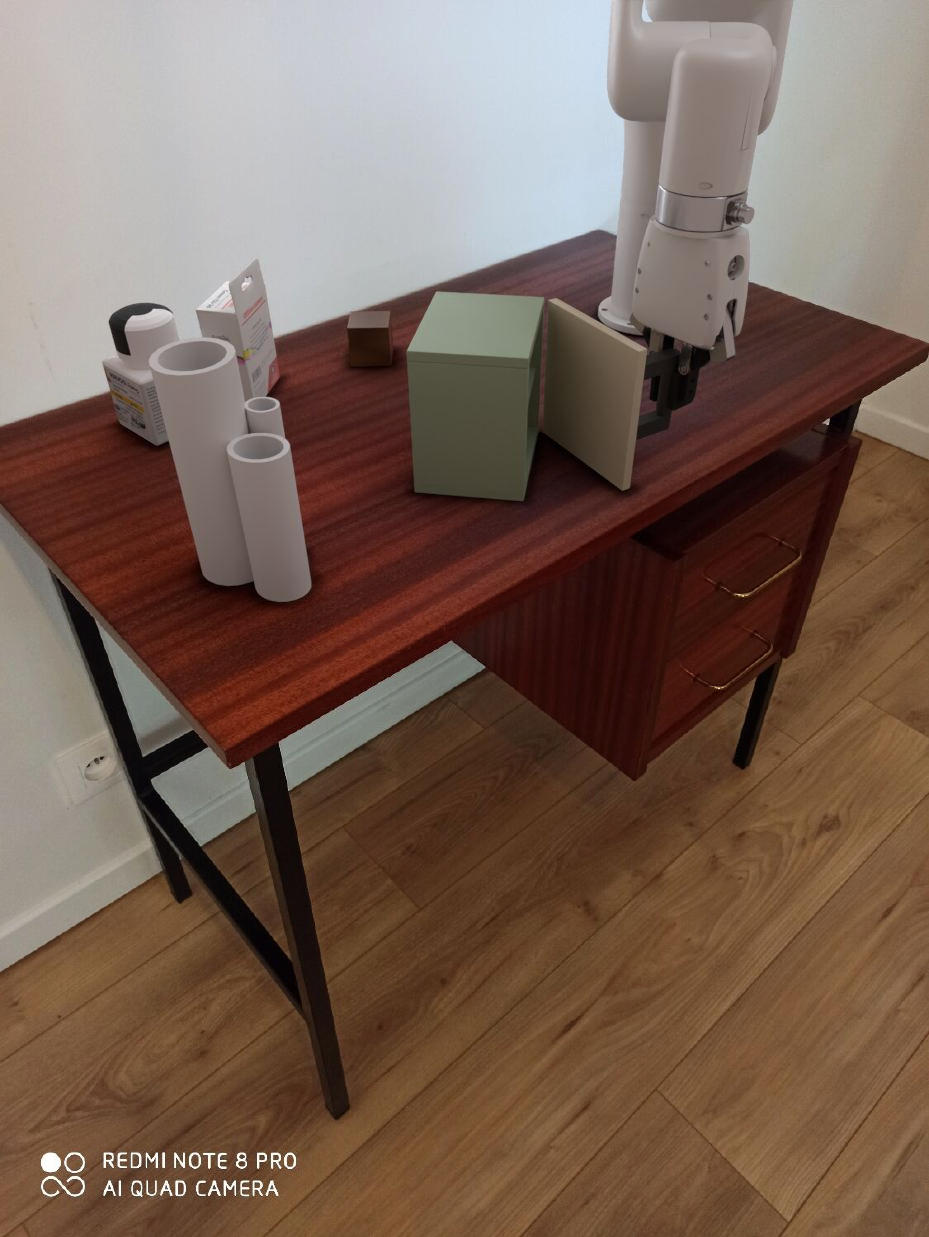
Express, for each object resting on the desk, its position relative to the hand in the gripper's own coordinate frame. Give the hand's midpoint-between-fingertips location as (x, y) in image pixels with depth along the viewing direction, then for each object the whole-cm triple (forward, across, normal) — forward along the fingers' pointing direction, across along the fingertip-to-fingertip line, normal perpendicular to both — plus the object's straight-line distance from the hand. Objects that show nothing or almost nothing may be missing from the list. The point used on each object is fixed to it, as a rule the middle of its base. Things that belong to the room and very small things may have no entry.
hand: (671, 400), depth 91 cm
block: (+7, +40, +9) cm, 42 cm away
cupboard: (+7, +12, +15) cm, 20 cm away
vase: (+7, +11, +42) cm, 43 cm away
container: (+7, +41, +36) cm, 55 cm away
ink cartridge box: (+7, +42, +26) cm, 49 cm away
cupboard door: (+7, +5, +3) cm, 9 cm away
